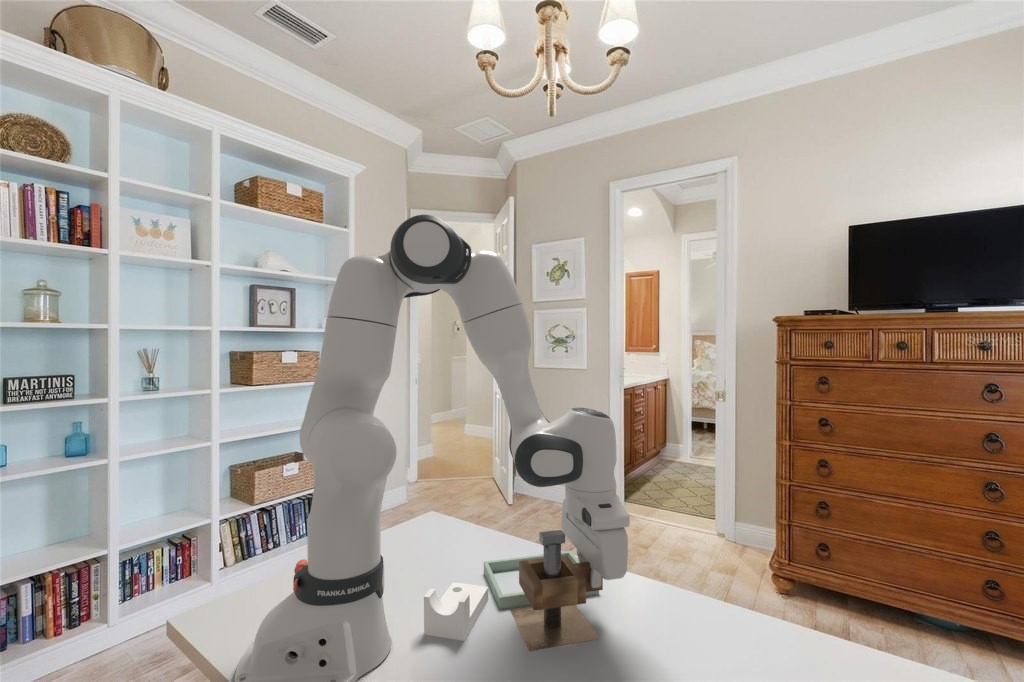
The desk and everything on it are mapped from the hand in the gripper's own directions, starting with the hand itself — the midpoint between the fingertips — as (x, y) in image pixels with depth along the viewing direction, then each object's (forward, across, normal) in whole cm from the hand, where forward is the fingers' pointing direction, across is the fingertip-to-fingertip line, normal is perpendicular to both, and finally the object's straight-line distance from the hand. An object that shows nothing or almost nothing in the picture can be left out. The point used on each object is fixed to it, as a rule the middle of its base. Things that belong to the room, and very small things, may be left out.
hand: (590, 580), depth 84 cm
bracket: (+8, -7, -22) cm, 25 cm away
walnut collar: (+1, 0, -5) cm, 5 cm away
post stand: (+8, 0, -7) cm, 10 cm away
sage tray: (+8, -14, -5) cm, 17 cm away
